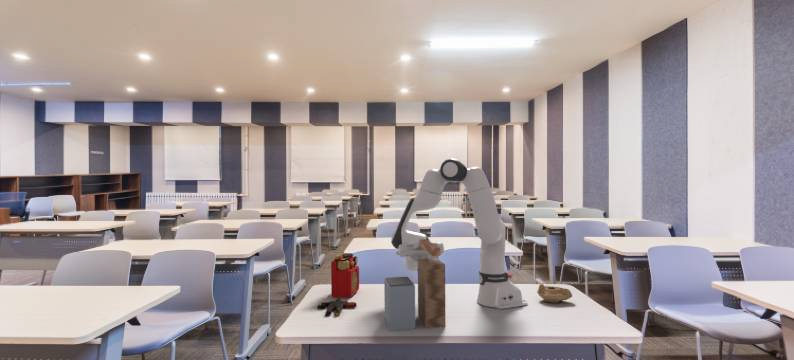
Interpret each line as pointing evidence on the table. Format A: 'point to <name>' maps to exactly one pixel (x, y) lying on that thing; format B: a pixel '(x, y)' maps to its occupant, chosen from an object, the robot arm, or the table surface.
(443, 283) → the post
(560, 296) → the oil lamp
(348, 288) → the radio
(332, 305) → the toy
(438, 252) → the bar
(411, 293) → the dock
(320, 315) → the table surface
